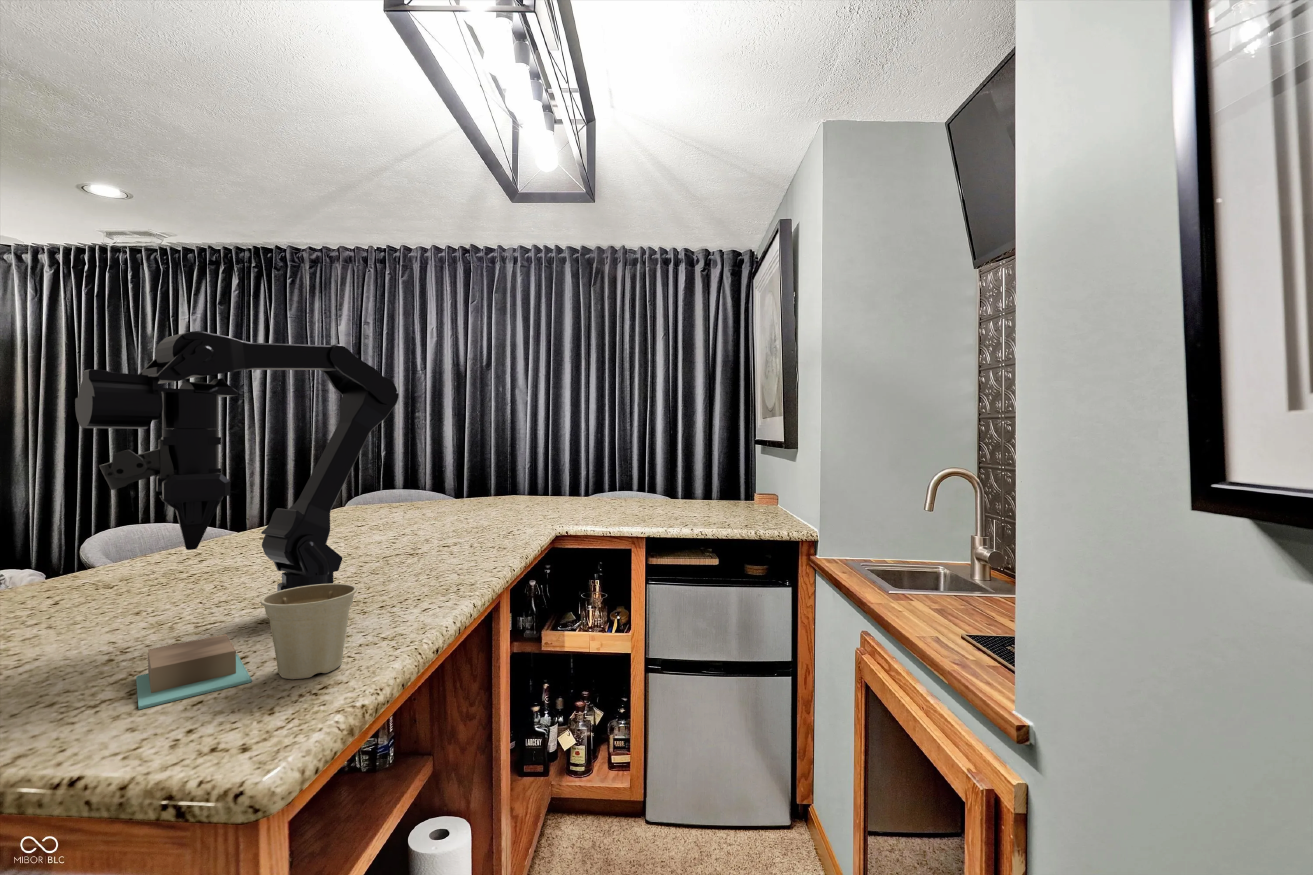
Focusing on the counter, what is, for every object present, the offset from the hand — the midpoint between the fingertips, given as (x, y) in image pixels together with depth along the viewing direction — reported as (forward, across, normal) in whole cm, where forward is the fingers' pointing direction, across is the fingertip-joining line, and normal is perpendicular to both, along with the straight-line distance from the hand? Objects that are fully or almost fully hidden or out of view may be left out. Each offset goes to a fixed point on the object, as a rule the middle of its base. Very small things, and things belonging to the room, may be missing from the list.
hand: (191, 549), depth 73 cm
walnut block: (+10, +10, -1) cm, 14 cm away
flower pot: (+12, +21, +9) cm, 26 cm away
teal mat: (+12, +16, -1) cm, 20 cm away
